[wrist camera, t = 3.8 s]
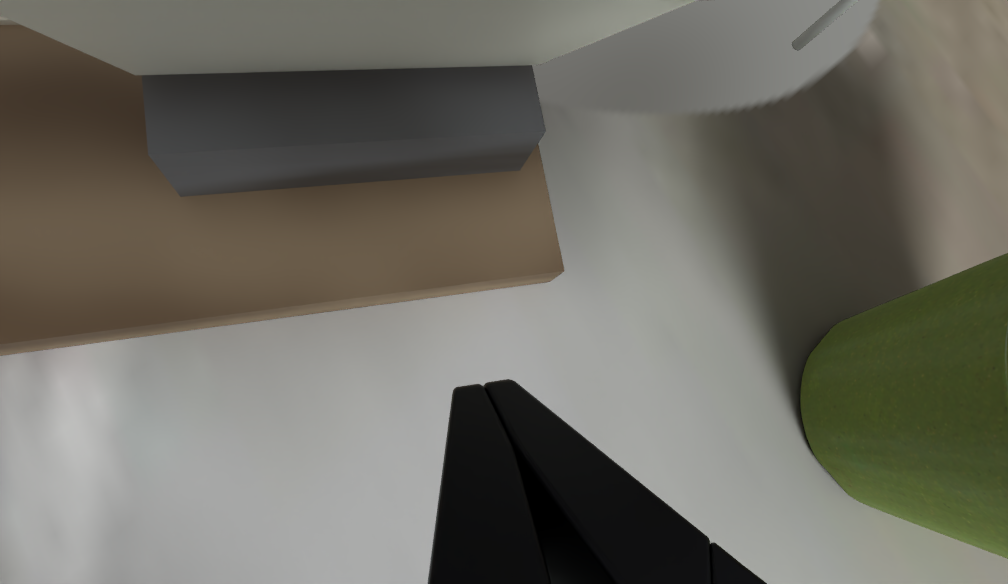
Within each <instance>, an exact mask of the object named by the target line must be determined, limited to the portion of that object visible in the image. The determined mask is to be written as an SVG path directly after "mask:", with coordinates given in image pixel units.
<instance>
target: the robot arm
mask: <svg viewBox="0 0 1008 584" xmlns="http://www.w3.org/2000/svg"><path fill="white" fill-rule="evenodd" d="M428 584H767V583H765V582H764V581H763V580H762V579H760V578H759V577H758V576H756V575H755V574H754V573H752V572H751V571H750V570H749V569H747V568H746V567H745V566H743V565H742V564H741V563H740V562H738V561H737V560H736V559H735V558H733V557H732V556H731V555H730V554H728V553H727V552H726V551H725V550H723V549H722V548H721V547H720V546H718V545H717V544H716V543H711V544H710V540H709V538H708V537H707V536H706V535H704V534H703V533H702V532H701V531H700V530H698V529H697V528H696V527H695V526H693V525H692V524H691V523H690V522H688V521H687V520H686V519H685V518H683V517H682V516H681V515H680V514H678V513H677V512H676V511H675V510H674V509H672V508H671V507H670V506H669V505H667V504H666V503H665V502H664V501H662V500H661V499H660V498H659V497H657V496H656V495H655V494H654V493H652V492H651V491H650V490H649V489H648V488H646V487H645V486H644V485H643V484H641V483H640V482H639V481H638V480H636V479H635V478H634V477H633V476H631V475H630V474H629V473H628V472H626V471H625V470H624V469H623V468H622V467H620V466H619V465H618V464H617V463H615V462H614V461H613V460H612V459H610V458H609V457H608V456H607V455H605V454H604V453H603V452H602V451H600V450H599V449H598V448H597V447H596V446H594V445H593V444H592V443H591V442H589V441H588V440H587V439H586V438H584V437H583V436H582V435H581V434H579V433H578V432H577V431H576V430H574V429H573V428H572V427H571V426H569V425H568V424H567V423H566V422H565V421H563V420H562V419H561V418H560V417H558V416H557V415H556V414H555V413H553V412H552V411H551V410H550V409H548V408H547V407H546V406H545V405H543V404H542V403H541V402H540V401H539V400H537V399H536V398H535V397H534V396H532V395H531V394H530V393H529V392H527V391H526V390H525V389H524V388H522V387H521V386H520V385H519V384H517V383H516V382H515V381H513V380H509V379H507V380H500V381H494V382H488V383H486V384H485V385H484V386H482V385H480V384H474V385H468V386H461V387H456V388H455V389H454V390H453V394H452V402H451V409H450V417H449V425H448V432H447V440H446V447H445V455H444V463H443V470H442V478H441V486H440V493H439V501H438V509H437V516H436V524H435V531H434V539H433V547H432V554H431V562H430V570H429V577H428Z"/></svg>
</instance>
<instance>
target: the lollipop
mask: <svg viewBox="0 0 1008 584" xmlns="http://www.w3.org/2000/svg"><path fill="white" fill-rule="evenodd" d="M857 1H859V0H841V1H839V2H838V3H837V4H836V5H835V6H833V7H832V8H831V9H830V10H829V11H828V12H827V13H825V14H824V15H823V16H822V17H821V18H820V19H819V20H817V21H816V22H815V23H814V24H813V25H812V26H810V27H809V28H808V29H807V30H806V31H805V32H804V33H802V34H801V35H800V36H799V37H798V38H797V39H796V40H794V41H793V42H792V46H793V48H794V49H795V50H800V49H801V48H803V47H804V46H805V45H806V44H807V43H809V42H810V41H811V40H812V39H813V38H814V37H816V36H817V35H818V34H819V33H820V32H822V31H823V30H824V29H825V28H826V27H828V26H829V25H830V24H831V23H832V22H834V21H835V20H836V19H837V18H838V17H840V16H841V15H842V14H843V13H844V12H845V11H847V10H848V9H849V8H850V7H851V6H852V5H854V4H855V3H856V2H857Z"/></svg>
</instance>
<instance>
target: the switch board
mask: <svg viewBox="0 0 1008 584" xmlns="http://www.w3.org/2000/svg"><path fill="white" fill-rule="evenodd" d="M545 132H546V130H545V126H544V121H543V116H542V111H541V107H540V102H539V97H538V92H537V87H536V83H535V78H534V73H533V69H532V65H523V66H483V67H444V68H405V69H365V70H326V71H287V72H248V73H208V74H169V75H133V74H131V73H129V72H127V71H124V70H122V69H120V68H118V67H115V66H113V65H111V64H109V63H106V62H104V61H102V60H100V59H97V58H95V57H93V56H91V55H88V54H86V53H84V52H82V51H79V50H77V49H75V48H73V47H70V46H68V45H66V44H63V43H61V42H59V41H57V40H54V39H52V38H50V37H48V36H45V35H43V34H41V33H39V32H36V31H34V30H32V29H30V28H27V27H25V26H23V25H21V24H18V23H16V22H14V21H12V20H9V19H7V18H5V17H3V16H0V356H2V355H9V354H17V353H24V352H31V351H39V350H46V349H54V348H61V347H69V346H76V345H84V344H91V343H98V342H106V341H113V340H121V339H128V338H136V337H143V336H150V335H158V334H165V333H173V332H180V331H188V330H195V329H202V328H210V327H217V326H225V325H232V324H240V323H247V322H254V321H262V320H269V319H277V318H284V317H292V316H299V315H307V314H314V313H321V312H329V311H336V310H344V309H351V308H359V307H366V306H373V305H381V304H388V303H396V302H403V301H411V300H418V299H425V298H433V297H440V296H448V295H455V294H463V293H470V292H477V291H485V290H492V289H500V288H507V287H515V286H522V285H530V284H537V283H544V282H550V281H551V280H553V279H554V278H555V277H557V276H558V275H560V274H561V273H562V272H564V267H563V262H562V257H561V252H560V247H559V243H558V238H557V233H556V228H555V223H554V218H553V214H552V209H551V204H550V199H549V194H548V189H547V185H546V180H545V175H544V170H543V165H542V160H541V156H540V151H539V146H538V142H539V141H540V139H541V138H542V136H543V135H544V133H545Z"/></svg>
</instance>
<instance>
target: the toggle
mask: <svg viewBox="0 0 1008 584" xmlns="http://www.w3.org/2000/svg"><path fill="white" fill-rule="evenodd" d="M694 1H708V0H0V16H3V17H5V18H7V19H9V20H12V21H14V22H16V23H18V24H21V25H23V26H25V27H27V28H30V29H32V30H34V31H36V32H39V33H41V34H43V35H45V36H48V37H50V38H52V39H54V40H57V41H59V42H61V43H63V44H66V45H68V46H70V47H73V48H75V49H77V50H79V51H82V52H84V53H86V54H88V55H91V56H93V57H95V58H97V59H100V60H102V61H104V62H106V63H109V64H111V65H113V66H115V67H118V68H120V69H122V70H124V71H127V72H129V73H131V74H133V75H169V74H208V73H248V72H287V71H326V70H365V69H405V68H444V67H483V66H523V65H541V64H543V63H545V62H548V61H550V60H553V59H555V58H558V57H560V56H563V55H565V54H567V53H570V52H572V51H575V50H577V49H580V48H582V47H585V46H587V45H589V44H592V43H594V42H597V41H599V40H602V39H604V38H606V37H609V36H611V35H614V34H616V33H618V32H621V31H623V30H626V29H628V28H631V27H633V26H636V25H638V24H641V23H643V22H645V21H648V20H650V19H653V18H655V17H658V16H660V15H663V14H665V13H667V12H670V11H672V10H675V9H677V8H680V7H682V6H684V5H687V4H689V3H692V2H694Z"/></svg>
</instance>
